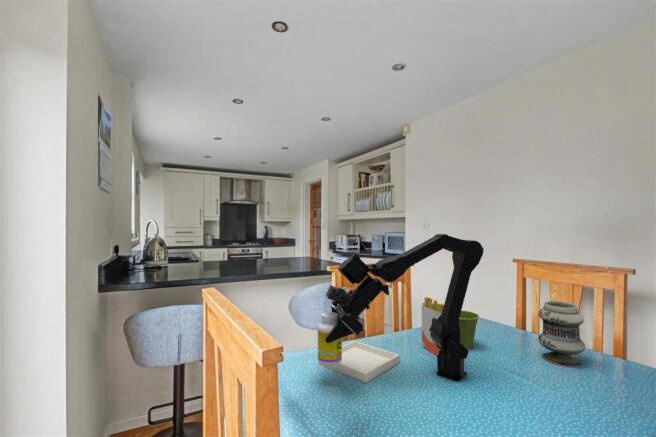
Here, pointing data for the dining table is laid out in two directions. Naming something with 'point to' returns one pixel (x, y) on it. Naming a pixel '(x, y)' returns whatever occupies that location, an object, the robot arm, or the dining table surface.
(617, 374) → the dining table surface
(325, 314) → the supplement bottle
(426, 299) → the french fries container
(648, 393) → the dining table surface
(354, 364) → the tray
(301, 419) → the dining table surface
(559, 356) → the apothecary jar
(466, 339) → the plant pot
